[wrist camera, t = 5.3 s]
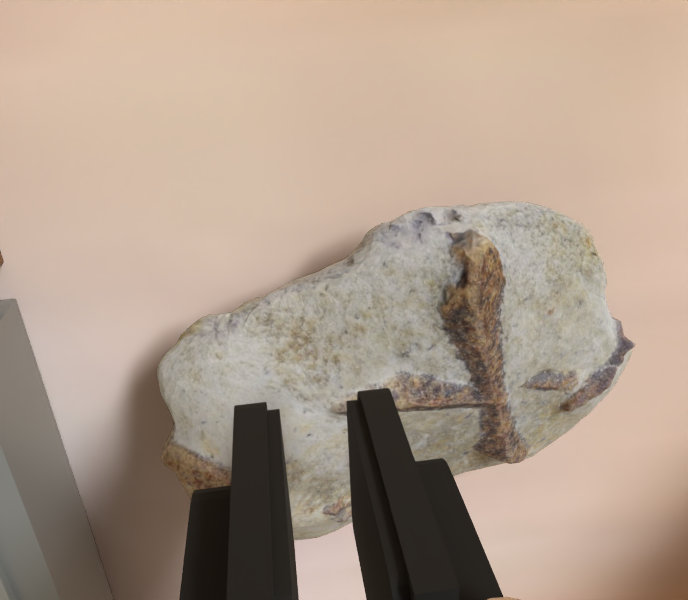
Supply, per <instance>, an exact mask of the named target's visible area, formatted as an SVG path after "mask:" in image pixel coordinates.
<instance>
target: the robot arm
mask: <svg viewBox="0 0 688 600" xmlns="http://www.w3.org/2000/svg"><path fill="white" fill-rule="evenodd" d="M346 405H347V428H348V449H349V470H350V491H351V511H352V522H353V529H354V535H355V541H356V546H357V551H358V556H359V562H360V567H361V572H362V577H363V582H364V588H365V593H366V598H367V600H519V599H514V598H510V597H503V595H502V592H501V590H500V587H499V585H498V583H497V580H496V578H495V575H494V573H493V571H492V568H491V566H490V564H489V561H488V559H487V556H486V554H485V552H484V549H483V547H482V544H481V542H480V540H479V537H478V535H477V532H476V530H475V528H474V525H473V523H472V520H471V518H470V516H469V513H468V511H467V509H466V506H465V504H464V501H463V499H462V497H461V494H460V492H459V489H458V487H457V485H456V482H455V480H454V477H453V475H452V473H451V470H450V468H449V466H448V464H447V462H446V461H445V460H444V459H443V458H439V459H431V460H423V461H416V462H415V459H414V456H413V453H412V451H411V448H410V445H409V442H408V439H407V436H406V433H405V431H404V428H403V425H402V422H401V419H400V416H399V413H398V411H397V408H396V405H395V402H394V399H393V396H392V394H391V391H390V389H389V388H382V389H373V390H364V391H358V392H357V400H351V401H347V404H346ZM179 600H299V599H298V587H297V574H296V561H295V549H294V537H293V526H292V517H291V508H290V499H289V490H288V481H287V472H286V463H285V454H284V445H283V436H282V427H281V418H280V410H279V409H274V410H268V409H267V403H266V402H260V403H252V404H243V405H235V406H234V420H233V445H232V471H231V485H230V486H222V487H214V488H206V489H198V490H194V491H193V493H192V498H191V505H190V513H189V522H188V530H187V539H186V548H185V556H184V565H183V573H182V582H181V590H180V599H179Z"/></svg>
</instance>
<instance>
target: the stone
mask: <svg viewBox="0 0 688 600" xmlns="http://www.w3.org/2000/svg"><path fill="white" fill-rule="evenodd" d="M606 283H607V279H606V274H605V270H604V263H603V261H602V259H601V257H600V256H599V254H598V252H597V250H596V247H595V244H594V240H593V237H592V235H591V233H590V231H589V230H588V229H587V228H585V227H584V226H583V225H582V224H580V223H579V222H577V221H575V220H573V219H571V218H569V217H568V216H566V215H564V214H562V213H560V212H558V211H556V210H552V209H549V208H546V207H543V206H539V205H536V204H532V203H529V202H512V201H506V202H497V203H480V204H476V205H471V206H464V205H459V206H452V207H451V206H432V207H426V208H422V209H418V210H413V211H409V212H407V213H406V214H404V215H402V216H400V217H399V218H397V219H395V220H393V221H391V222H387V223H381V225H378V226H375V227H374V228H373V229H371V230H370V231H369V232H368V233H367V234H366V235H365V237H364V239H363V240H362V242H361V243H360V244H359V246H358V247H357V248H356V250H355V251H354V252H353V253H351V254H350V255H349V256H348V257H346V258H345V259H344V260H341V261H339V262H337V263H334V264H332V265H330V266H327V267H326V268H324V269H322V270H320V271H318V272H316V273H313V274H310V275H307V276H304V277H301V278H298V279H296V280H294V281H292V282H290V283H288V284H286V285H284V286H282V287H280V288H278V289H276V290H274V291H272V292H271V293H269V294H268V295H266V296H265V297H263V298H255V299H253V300H250V301H248V302H246V303H244V304H243V305H241V306H240V307H238V308H237V309H236V310H234V311H233V312H230V313H225V314H218V315H207V316H205V317H202V318H201V319H199V320H198V321H197V322H195V323H194V324H193V325H192V326H190V327H189V328H188V329H187V330H186V331H185V332H184V333H183V334H182V335H181V336H180V338H179V340H178V342H177V344H176V345H175V346H174V347H173V348H171V349H170V350H169V351H168V352H167V353H166V354H165V355H164V356H163V357H162V359H161V361H160V363H159V365H158V368H157V378H158V383H159V388H160V393H161V396H162V397H163V399H164V401H165V403H166V405H167V407H168V409H169V411H170V413H171V415H172V418H173V428H172V430H171V432H170V435H169V437H168V439H167V441H166V443H165V445H164V447H163V453H162V456H161V460H162V462H163V463H164V464H165V465H166V466H167V467H169V468H170V469H171V470H173V471H174V472H176V474H177V476H178V478H179V480H180V482H181V483H182V485H183V486H184V488H185V490H186V492H187V494H188V496H189V498H190V500H191V498H192V493H193V491H194V490H198V489H206V488H214V487H222V486H230V485H231V471H232V445H233V420H234V406H235V405H243V404H252V403H260V402H266V403H267V409H268V410H274V409H279V410H280V418H281V427H282V436H283V445H284V454H285V463H286V472H287V481H288V490H289V499H290V508H291V517H292V526H293V537H294V540H302V539H311V538H317V537H320V536H323V535H326V534H329V533H331V532H334V531H336V530H338V529H340V528H342V527H344V526H345V525H347V524H349V523H351V522H352V511H351V491H350V470H349V449H348V428H347V405H346V404H347V401H351V400H357V392H358V391H364V390H373V389H382V388H389V389H390V391H391V394H392V396H393V399H394V402H395V405H396V408H397V411H398V413H399V416H400V419H401V422H402V425H403V428H404V431H405V433H406V436H407V439H408V442H409V445H410V448H411V451H412V453H413V456H414V459H415V462H416V461H423V460H431V459H439V458H443V459H444V460H445V461H446V462H447V464H448V466H449V468H450V470H451V473H452V475H453V476H455V475H458V474H460V473H463V472H467V471H472V470H477V469H481V468H485V467H490V466H494V465H498V464H503V463H510V464H512V463H519V462H521V461H523V460H524V459H526V458H529V457H532V456H533V455H535V454H536V453H537V452H538V451H540V450H542V449H543V448H545V447H546V446H548V445H549V444H551V443H552V442H554V441H555V440H556V439H558V438H559V437H561V436H562V435H563V434H565V433H566V432H568V431H569V430H570V429H572V428H573V427H574V426H575V425H576V424H577V423H578V422H579V421H580V420H581V419H583V418H584V417H585V416H587V415H588V414H589V413H590V412H591V411H592V410H593V409H594V408H595V407H596V405H597V404H598V403H599V402H600V401H601V400H603V399H604V398H605V397H606V396H607V394H608V393H609V392H610V391H611V389H612V388H613V387H614V385H615V384H616V382H617V380H618V378H619V377H620V375H621V373H622V371H623V370H624V368H625V366H626V364H627V362H628V360H629V359H630V356H631V354H632V348H633V347H635V343H633V342H631V341H630V340H628V339H627V338H626V337H625V336H624V333H623V329H622V325H621V321H619V320H617V319H615V318H613V317H612V316H611V314H610V312H609V310H608V306H607V302H606V296H605V287H606Z"/></svg>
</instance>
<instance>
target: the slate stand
mask: <svg viewBox="0 0 688 600" xmlns="http://www.w3.org/2000/svg"><path fill="white" fill-rule="evenodd" d="M0 600H114V599H113V596H112V593H111V590H110V587H109V584H108V581H107V578H106V575H105V572H104V569H103V566H102V562H101V559H100V556H99V553H98V550H97V547H96V544H95V541H94V538H93V535H92V532H91V529H90V526H89V522H88V519H87V516H86V513H85V510H84V507H83V504H82V501H81V498H80V495H79V492H78V489H77V486H76V483H75V479H74V476H73V473H72V470H71V467H70V464H69V461H68V458H67V455H66V452H65V449H64V446H63V443H62V440H61V436H60V433H59V430H58V427H57V424H56V421H55V418H54V415H53V412H52V409H51V406H50V403H49V400H48V397H47V393H46V390H45V387H44V384H43V381H42V378H41V375H40V372H39V369H38V366H37V363H36V360H35V357H34V354H33V350H32V347H31V344H30V341H29V338H28V335H27V332H26V329H25V326H24V323H23V320H22V317H21V314H20V310H19V307H18V304H17V301H16V299H9V300H0Z"/></svg>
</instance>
